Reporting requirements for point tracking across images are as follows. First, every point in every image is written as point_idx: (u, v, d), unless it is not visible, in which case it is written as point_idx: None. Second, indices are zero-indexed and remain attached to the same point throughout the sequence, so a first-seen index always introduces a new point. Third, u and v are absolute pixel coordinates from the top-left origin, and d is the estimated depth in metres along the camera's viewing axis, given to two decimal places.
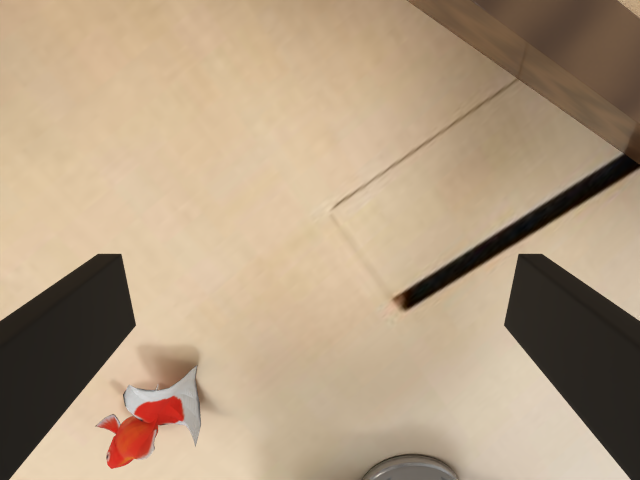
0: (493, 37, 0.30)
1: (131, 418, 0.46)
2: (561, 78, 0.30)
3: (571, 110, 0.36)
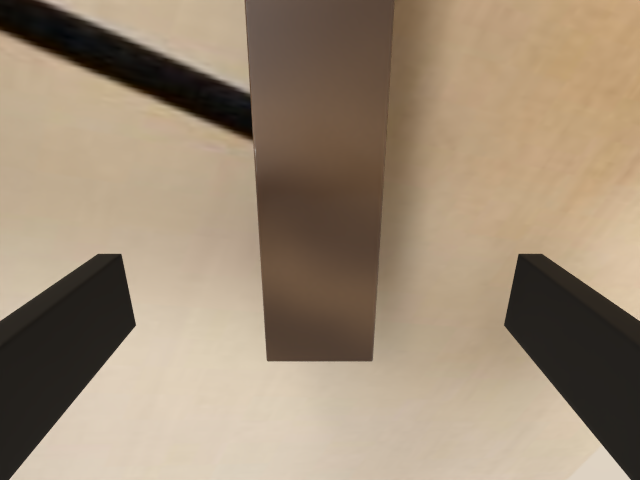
0: None
1: None
2: None
3: None
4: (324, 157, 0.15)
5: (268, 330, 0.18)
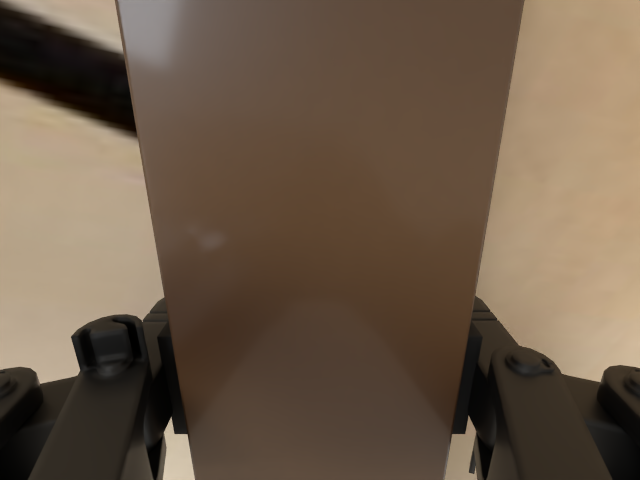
0: None
1: None
2: None
3: None
4: (333, 242, 0.06)
5: None
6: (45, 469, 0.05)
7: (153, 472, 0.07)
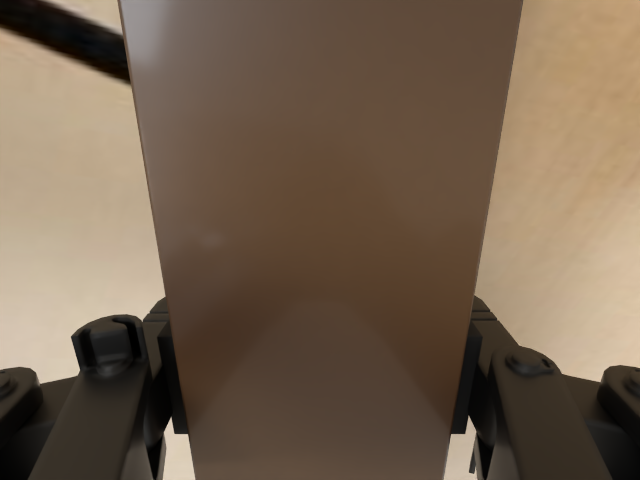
0: None
1: None
2: None
3: None
4: (333, 240, 0.06)
5: None
6: (44, 469, 0.05)
7: (153, 472, 0.07)
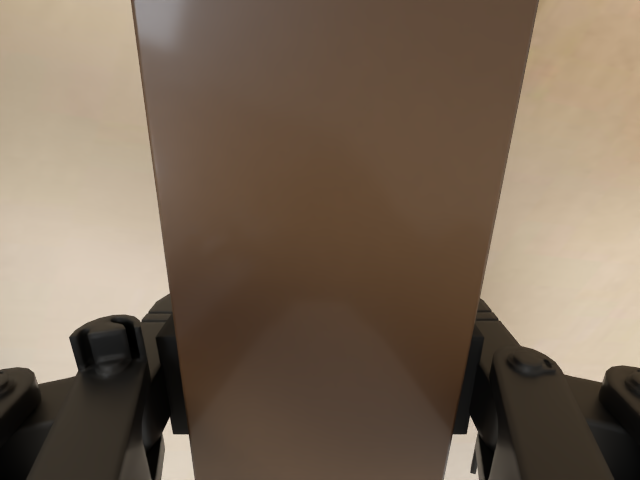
0: None
1: None
2: None
3: None
4: (339, 239, 0.06)
5: None
6: (43, 470, 0.05)
7: (151, 472, 0.07)
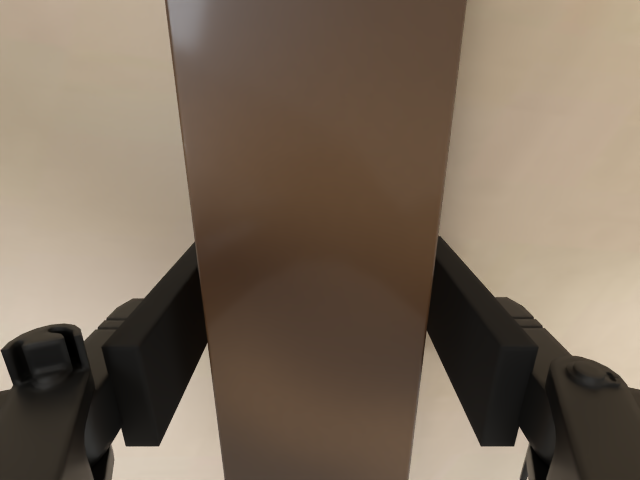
0: None
1: None
2: None
3: None
4: (326, 204, 0.08)
5: None
6: None
7: None
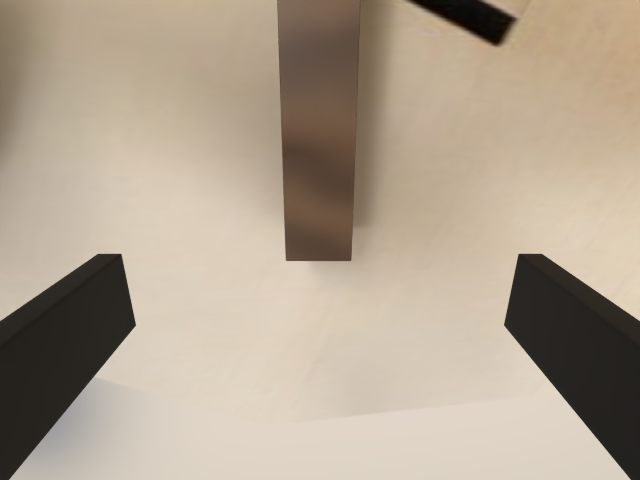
0: None
1: None
2: None
3: None
4: (321, 131, 0.27)
5: (287, 240, 0.29)
6: None
7: None
